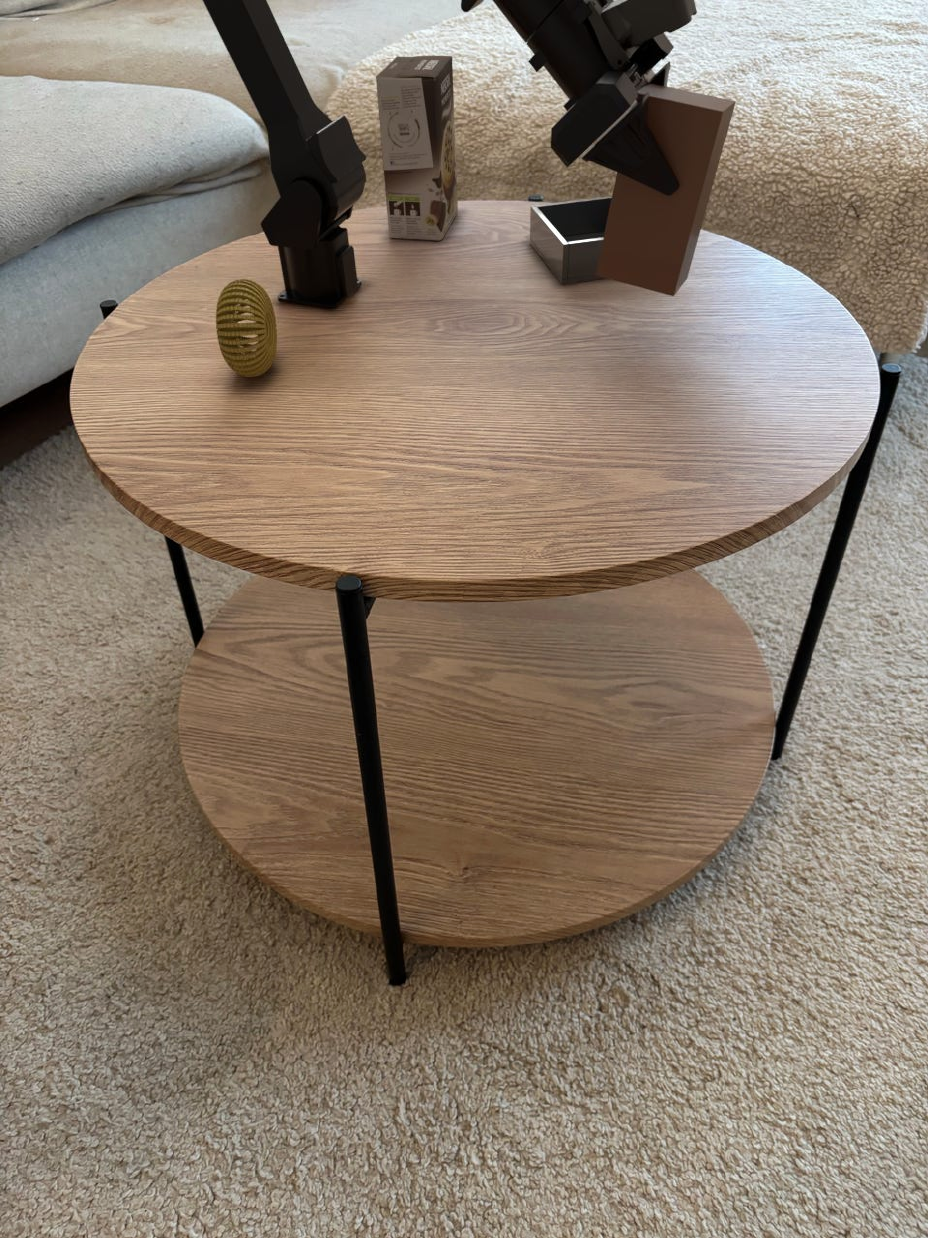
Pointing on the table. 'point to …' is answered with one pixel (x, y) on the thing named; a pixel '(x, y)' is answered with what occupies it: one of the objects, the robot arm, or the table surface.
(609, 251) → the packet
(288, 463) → the table surface
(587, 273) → the open box
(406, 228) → the coffee box
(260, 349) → the sculpture
